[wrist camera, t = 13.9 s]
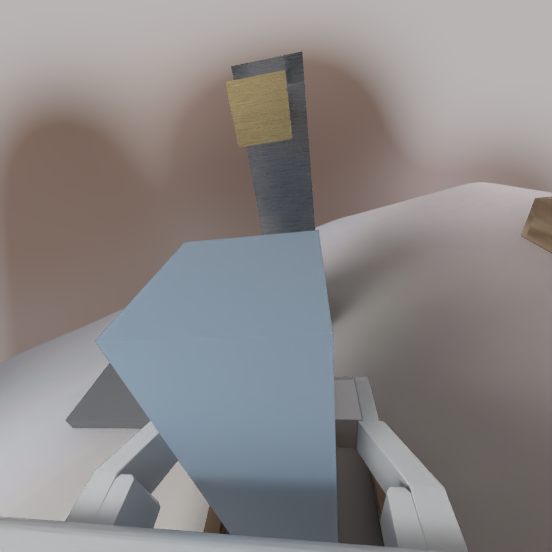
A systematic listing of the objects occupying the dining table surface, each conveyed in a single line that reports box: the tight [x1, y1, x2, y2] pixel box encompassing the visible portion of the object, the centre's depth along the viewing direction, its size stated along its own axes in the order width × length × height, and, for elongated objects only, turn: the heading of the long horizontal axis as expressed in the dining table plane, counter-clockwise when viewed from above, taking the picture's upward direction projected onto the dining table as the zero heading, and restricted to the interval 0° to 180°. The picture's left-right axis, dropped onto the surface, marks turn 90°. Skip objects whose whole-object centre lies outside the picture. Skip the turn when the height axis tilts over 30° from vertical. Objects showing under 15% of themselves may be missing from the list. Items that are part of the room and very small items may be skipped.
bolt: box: [226, 70, 292, 147], centre depth 17 cm, size 2×15×2 cm, turn 175°
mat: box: [65, 363, 150, 428], centre depth 24 cm, size 10×12×1 cm
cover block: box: [95, 230, 338, 543], centre depth 10 cm, size 4×4×13 cm
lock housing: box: [232, 52, 315, 235], centre depth 22 cm, size 4×6×21 cm, turn 175°
